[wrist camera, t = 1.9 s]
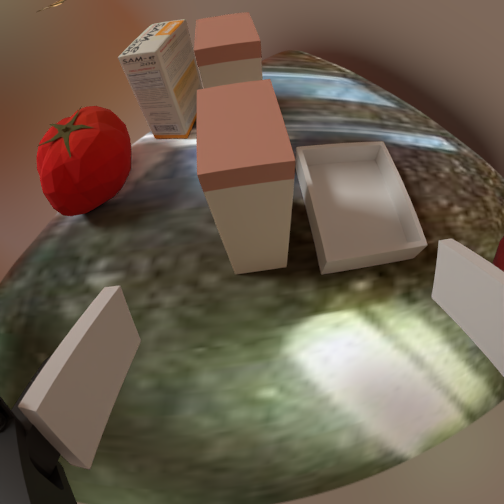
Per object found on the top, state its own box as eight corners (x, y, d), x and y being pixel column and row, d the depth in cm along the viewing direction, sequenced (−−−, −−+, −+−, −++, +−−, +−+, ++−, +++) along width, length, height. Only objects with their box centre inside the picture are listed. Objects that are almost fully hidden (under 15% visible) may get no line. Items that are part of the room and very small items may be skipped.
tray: (321, 274, 25) (326, 261, 22) (294, 166, 30) (296, 147, 27) (413, 258, 25) (427, 245, 22) (376, 159, 30) (383, 141, 27)
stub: (235, 274, 26) (197, 174, 13) (228, 206, 29) (196, 89, 16) (286, 267, 26) (295, 160, 13) (273, 200, 28) (270, 79, 16)
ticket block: (224, 175, 30) (194, 50, 16) (220, 130, 33) (196, 19, 19) (268, 169, 30) (260, 40, 16) (258, 125, 33) (248, 12, 19)
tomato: (52, 222, 30) (2, 176, 21) (97, 143, 35) (64, 90, 25) (117, 238, 28) (62, 181, 19) (163, 145, 33) (134, 79, 23)
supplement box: (175, 100, 36) (150, 23, 24) (206, 99, 36) (187, 17, 24) (152, 140, 33) (115, 56, 21) (187, 140, 33) (156, 49, 21)
